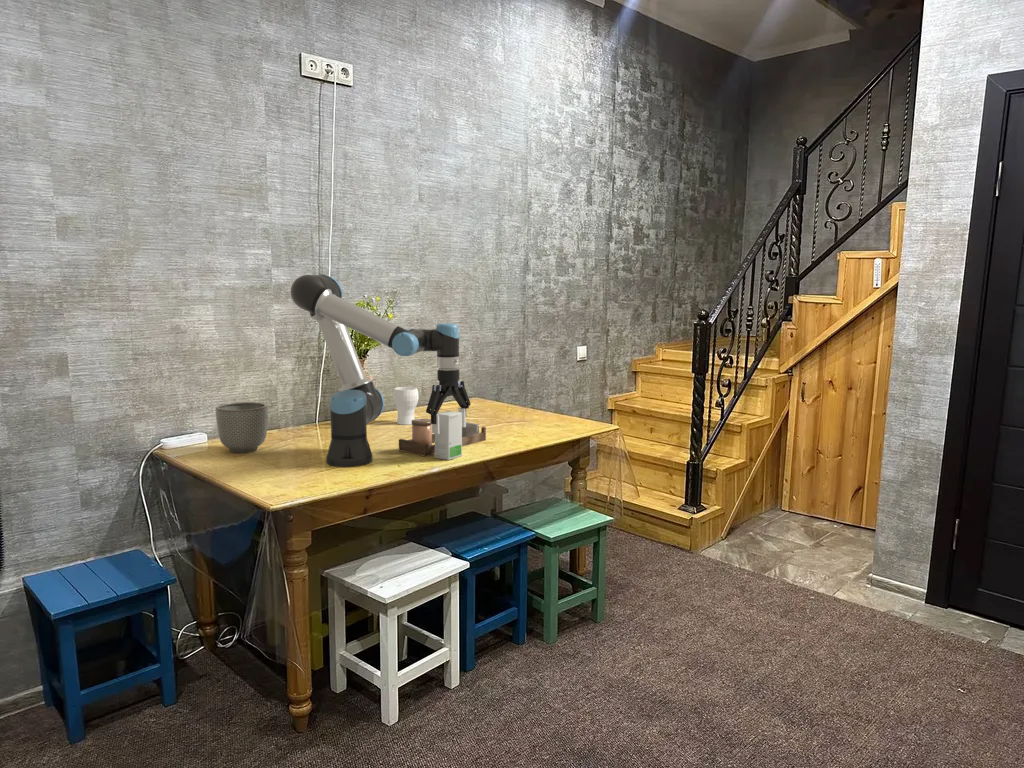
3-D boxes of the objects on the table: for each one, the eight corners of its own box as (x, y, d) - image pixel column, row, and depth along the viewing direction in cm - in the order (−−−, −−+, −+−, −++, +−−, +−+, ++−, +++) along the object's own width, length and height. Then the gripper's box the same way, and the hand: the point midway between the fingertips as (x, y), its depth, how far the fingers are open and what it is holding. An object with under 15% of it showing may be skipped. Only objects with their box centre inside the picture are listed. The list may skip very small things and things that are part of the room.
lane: (425, 456, 246) (425, 442, 246) (398, 450, 254) (398, 436, 254) (485, 439, 272) (485, 427, 272) (459, 434, 280) (459, 422, 280)
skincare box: (448, 460, 241) (448, 415, 239) (433, 457, 244) (433, 413, 242) (462, 455, 248) (463, 412, 246) (447, 453, 251) (447, 409, 249)
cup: (423, 422, 303) (423, 388, 301) (407, 426, 294) (407, 391, 292) (404, 419, 309) (404, 385, 307) (388, 423, 300) (387, 388, 298)
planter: (273, 444, 261) (271, 401, 258) (265, 455, 244) (263, 410, 241) (223, 445, 258) (221, 402, 255) (212, 457, 241) (209, 411, 238)
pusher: (476, 440, 270) (476, 424, 270) (456, 436, 277) (456, 421, 276) (484, 438, 274) (484, 423, 273) (463, 434, 280) (464, 419, 279)
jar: (422, 454, 249) (422, 423, 248) (407, 451, 254) (407, 420, 252) (436, 450, 255) (436, 420, 253) (421, 447, 259) (421, 417, 258)
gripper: (431, 373, 230) (432, 437, 233) (480, 366, 249) (480, 425, 252) (414, 371, 234) (415, 434, 237) (463, 364, 254) (464, 422, 257)
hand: (449, 429), depth 245 cm, fingers open, 13 cm apart
